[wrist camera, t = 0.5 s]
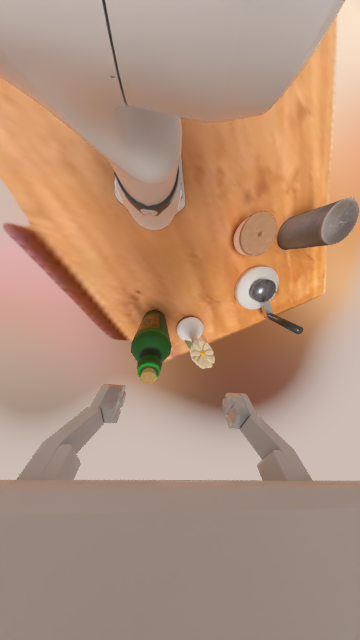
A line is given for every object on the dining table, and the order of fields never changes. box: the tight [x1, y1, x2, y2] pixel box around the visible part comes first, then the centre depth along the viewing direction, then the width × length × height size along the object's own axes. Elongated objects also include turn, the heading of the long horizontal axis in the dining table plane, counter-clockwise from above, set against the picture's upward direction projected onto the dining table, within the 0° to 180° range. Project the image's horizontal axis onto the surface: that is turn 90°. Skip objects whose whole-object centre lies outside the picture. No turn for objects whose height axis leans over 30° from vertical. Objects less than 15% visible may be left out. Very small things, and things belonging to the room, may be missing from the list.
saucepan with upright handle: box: [249, 279, 303, 334], centre depth 43 cm, size 17×8×14 cm, turn 32°
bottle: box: [131, 310, 171, 383], centre depth 38 cm, size 11×11×28 cm
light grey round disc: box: [234, 266, 279, 309], centre depth 49 cm, size 16×16×3 cm
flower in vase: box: [177, 317, 215, 369], centre depth 43 cm, size 13×11×25 cm
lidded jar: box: [234, 211, 277, 256], centre depth 39 cm, size 11×11×9 cm
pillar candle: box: [278, 197, 359, 250], centre depth 37 cm, size 10×10×15 cm
